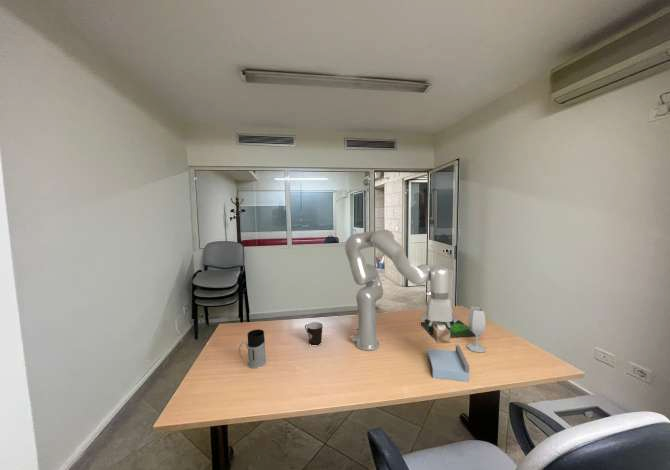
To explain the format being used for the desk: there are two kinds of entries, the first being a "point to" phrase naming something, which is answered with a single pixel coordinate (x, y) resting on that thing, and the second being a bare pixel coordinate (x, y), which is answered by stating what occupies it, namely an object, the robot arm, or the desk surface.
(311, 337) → the coffee mug
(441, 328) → the brown block with knobs
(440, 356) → the shelf
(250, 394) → the desk surface
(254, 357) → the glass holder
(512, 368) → the desk surface
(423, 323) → the mouse mat
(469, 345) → the wineglass
